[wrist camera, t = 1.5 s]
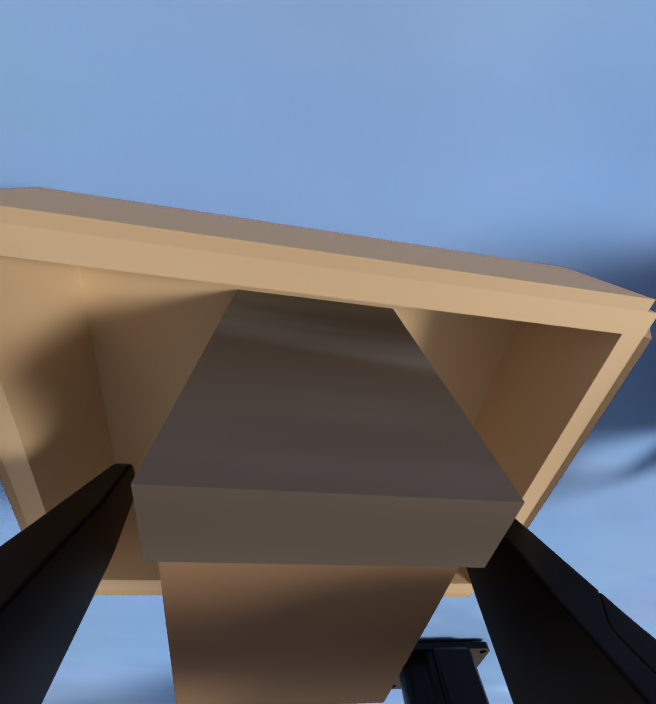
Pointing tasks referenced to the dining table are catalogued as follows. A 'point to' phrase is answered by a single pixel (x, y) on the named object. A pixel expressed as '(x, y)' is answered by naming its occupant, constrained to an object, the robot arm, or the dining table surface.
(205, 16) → the dining table surface
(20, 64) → the dining table surface
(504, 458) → the carton
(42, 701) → the robot arm
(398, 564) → the walnut box
